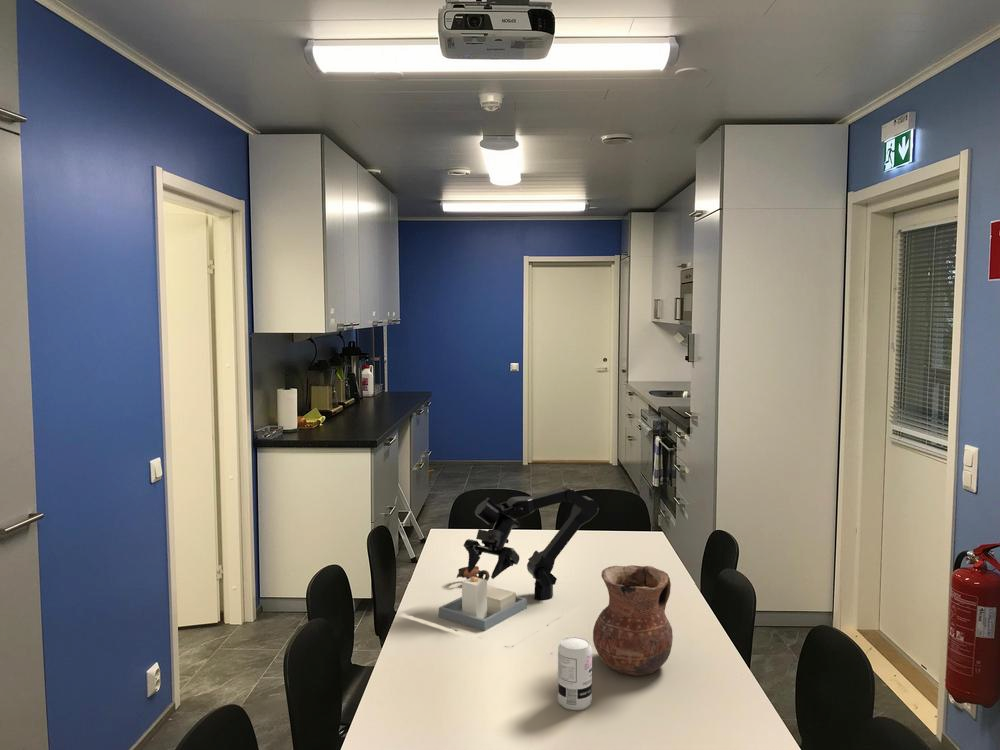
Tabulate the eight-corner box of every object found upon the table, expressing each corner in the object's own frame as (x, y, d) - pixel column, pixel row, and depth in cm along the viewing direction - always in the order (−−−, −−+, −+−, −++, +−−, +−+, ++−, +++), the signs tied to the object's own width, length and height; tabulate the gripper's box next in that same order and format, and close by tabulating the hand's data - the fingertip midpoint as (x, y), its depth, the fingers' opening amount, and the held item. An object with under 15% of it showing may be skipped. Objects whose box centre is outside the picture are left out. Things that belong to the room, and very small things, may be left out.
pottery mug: (454, 592, 256) (452, 568, 260) (464, 595, 265) (461, 572, 268) (487, 586, 254) (484, 561, 258) (495, 589, 262) (492, 565, 266)
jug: (655, 691, 187) (656, 593, 185) (579, 670, 198) (579, 578, 196) (683, 657, 205) (684, 568, 203) (613, 640, 216) (613, 556, 215)
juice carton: (473, 612, 235) (472, 574, 234) (487, 616, 232) (486, 577, 231) (462, 617, 231) (461, 579, 230) (476, 621, 227) (476, 582, 227)
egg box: (485, 599, 246) (485, 584, 245) (515, 607, 239) (515, 592, 238) (470, 607, 239) (470, 591, 239) (500, 615, 232) (500, 600, 232)
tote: (482, 598, 249) (482, 587, 249) (526, 610, 238) (526, 598, 238) (438, 620, 231) (438, 607, 231) (484, 634, 221) (484, 621, 220)
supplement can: (555, 695, 185) (555, 636, 184) (588, 693, 185) (588, 635, 184) (560, 712, 177) (560, 651, 176) (595, 710, 177) (595, 649, 176)
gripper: (466, 514, 241) (445, 556, 233) (514, 523, 230) (493, 568, 222) (481, 532, 248) (461, 574, 240) (528, 542, 237) (508, 586, 229)
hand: (480, 575), depth 232 cm, fingers open, 9 cm apart
